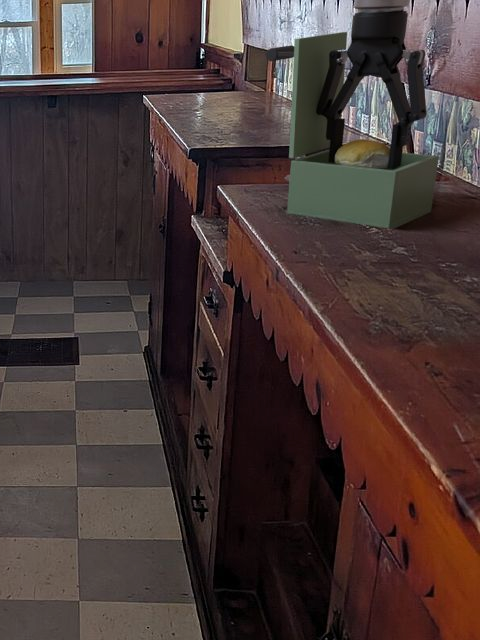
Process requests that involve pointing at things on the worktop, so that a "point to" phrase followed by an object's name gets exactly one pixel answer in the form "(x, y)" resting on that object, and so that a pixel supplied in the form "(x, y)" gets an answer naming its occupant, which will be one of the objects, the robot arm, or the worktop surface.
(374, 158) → the bread roll
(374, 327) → the worktop surface
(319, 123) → the bin lid
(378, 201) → the bread bin
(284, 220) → the worktop surface
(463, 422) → the worktop surface
